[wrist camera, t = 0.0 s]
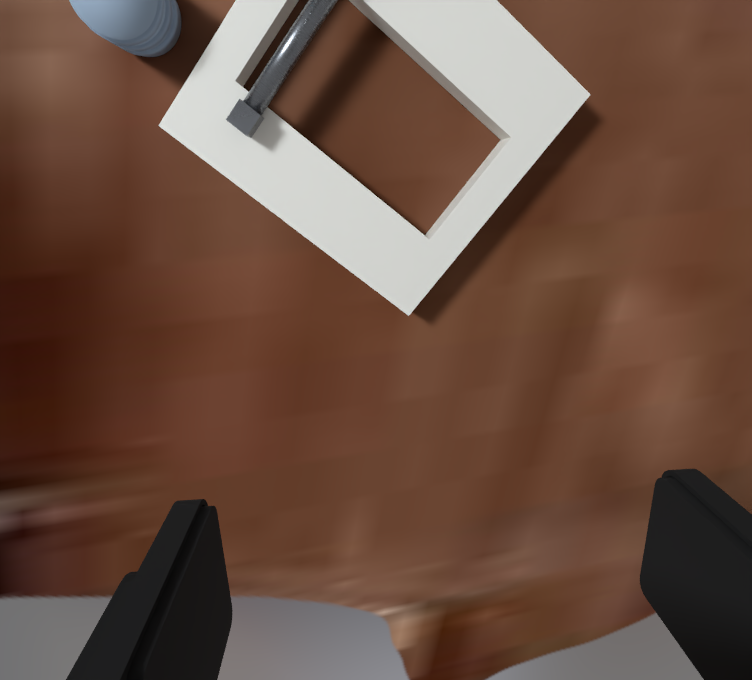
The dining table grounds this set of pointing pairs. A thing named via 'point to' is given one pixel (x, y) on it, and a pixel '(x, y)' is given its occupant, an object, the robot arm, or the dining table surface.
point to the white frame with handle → (336, 186)
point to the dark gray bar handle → (279, 67)
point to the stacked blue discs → (133, 23)
